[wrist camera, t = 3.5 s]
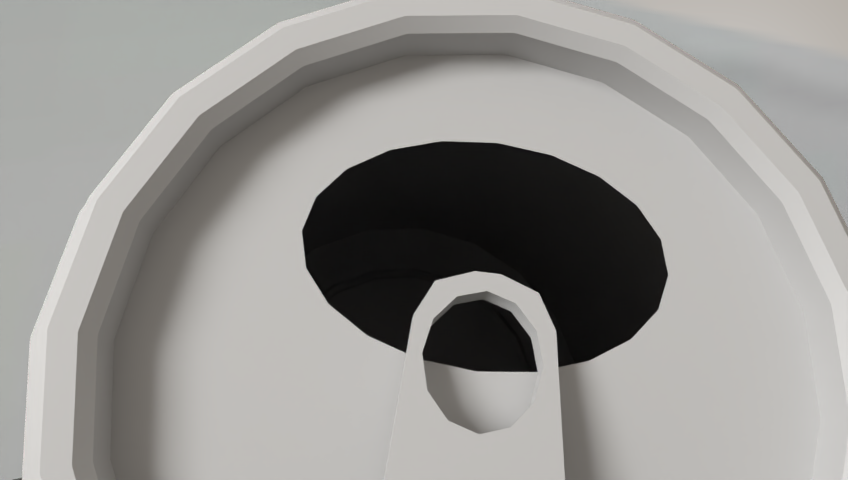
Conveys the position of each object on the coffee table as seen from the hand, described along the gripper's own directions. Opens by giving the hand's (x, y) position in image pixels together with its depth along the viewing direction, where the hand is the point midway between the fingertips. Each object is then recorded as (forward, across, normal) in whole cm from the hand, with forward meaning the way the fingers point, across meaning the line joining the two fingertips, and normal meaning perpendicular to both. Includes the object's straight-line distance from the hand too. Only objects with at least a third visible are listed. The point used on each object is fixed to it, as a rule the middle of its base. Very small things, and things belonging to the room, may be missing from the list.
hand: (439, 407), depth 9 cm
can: (+6, 0, +6) cm, 8 cm away
